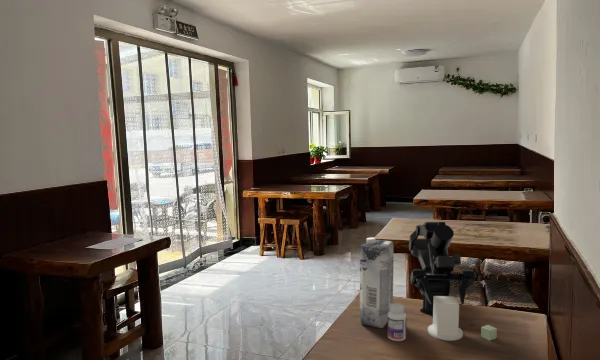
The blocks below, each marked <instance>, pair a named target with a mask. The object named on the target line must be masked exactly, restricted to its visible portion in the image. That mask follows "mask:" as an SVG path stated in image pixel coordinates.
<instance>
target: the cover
mask: <svg viewBox="0 0 600 360" xmlns="http://www.w3.org/2000/svg"><path fill="white" fill-rule="evenodd" d="M459 317H460V303H459V302H458V300H457V299H456V297H455V296H452V295H451V296H434V300H433V315H432V324H433V327H434V329H435V331H436V333H437V335H458V328H459V322H460V319H459Z"/></svg>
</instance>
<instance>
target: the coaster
mask: <svg viewBox="0 0 600 360" xmlns="http://www.w3.org/2000/svg"><path fill="white" fill-rule="evenodd" d="M427 333H428V335H430V337H433V338H435V339H437V340H440V341H447V342H449V341H450V342H452V341H453V342H454V341H459V340H460V339H462V338H463V336H464V331H463V330H462V329H461V328H460V327H458V335H437V333H436V331H435V329H434V327H433V323H432V324H430V325H429V326H428V327H427Z"/></svg>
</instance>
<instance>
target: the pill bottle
mask: <svg viewBox="0 0 600 360" xmlns="http://www.w3.org/2000/svg"><path fill="white" fill-rule="evenodd" d="M406 313H407V312H405V306H404V304H402V303H398V302H395V303H394V302H393V304H391V305H390V312H389V313H388V322H387V338H388V339H389V340H391V341H392V342H393V341H394V342H402V341H404V340H406V338H407V314H406Z"/></svg>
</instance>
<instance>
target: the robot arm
mask: <svg viewBox="0 0 600 360" xmlns="http://www.w3.org/2000/svg"><path fill="white" fill-rule="evenodd" d="M454 233H455V232H454V230H453V229H452V227H450V225H447V224H446V222H445V221H425V222H424V223H423V224H417V225H416V226H415V230H414V231H413V232H412V233H411V234H410V235H409V241H408V250H409V251H410V253H411V254H412V255H411V256H413V257H416V258H418V261H419V263H420V267H421V268H413V270H411V273H410V279H409V280H410V285H412V286H414V285H415V288H418V289H419V291H420V294H421V295H422V297H423V298H422V308H421V309H419V312H422V313H425V314H427V315H430V316H433V300H434V296H449V295H450V291H451V286H452V282H451V281H457V282H458V284H459V285H458V293H459V299H460V300H459V301H460V303H461V305H464V303H465V299H466V292H467V289H468V288H470V286H473V284H474V283H475V281H476V279H477V274H476V271H474V269H460V271H459V273H452V272H454V270H455V267H456V266H460V265H461V263H462V259H461V255H460V253H453V254H452V255H449V251H448V248H449V247H450V245H451V243H452V240H453V238H454V235H455V234H454ZM419 236H421V237H423V238H419Z"/></svg>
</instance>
